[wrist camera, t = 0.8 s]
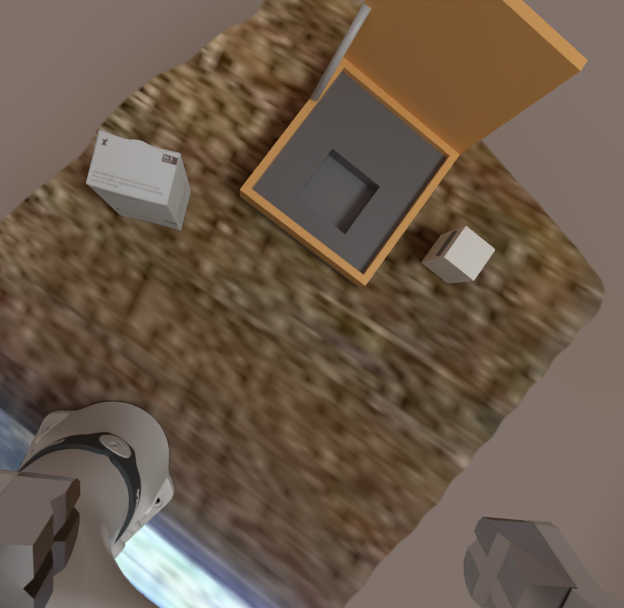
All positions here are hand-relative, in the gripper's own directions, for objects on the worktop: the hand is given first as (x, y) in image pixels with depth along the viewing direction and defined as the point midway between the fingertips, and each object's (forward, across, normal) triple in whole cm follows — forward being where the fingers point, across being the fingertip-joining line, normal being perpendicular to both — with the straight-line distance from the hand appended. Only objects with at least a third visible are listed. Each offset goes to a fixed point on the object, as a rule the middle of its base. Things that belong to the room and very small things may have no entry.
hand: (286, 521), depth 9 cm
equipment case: (+57, +9, +4) cm, 58 cm away
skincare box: (+55, -16, -3) cm, 57 cm away
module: (+55, +25, -4) cm, 60 cm away
